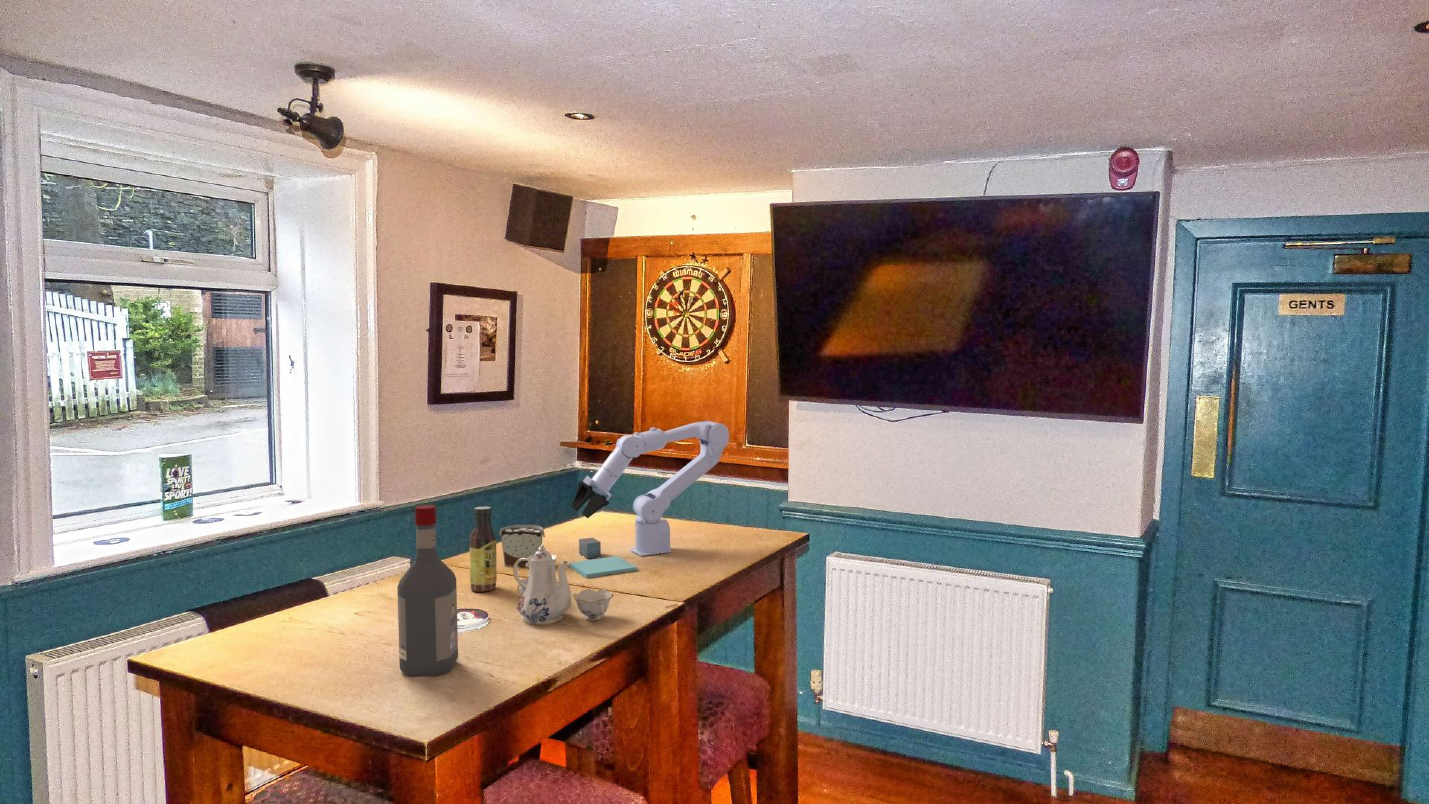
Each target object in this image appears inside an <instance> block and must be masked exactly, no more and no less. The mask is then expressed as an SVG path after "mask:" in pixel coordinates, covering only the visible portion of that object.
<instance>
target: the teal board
mask: <svg viewBox="0 0 1429 804" xmlns="http://www.w3.org/2000/svg"><path fill="white" fill-rule="evenodd" d="M567 565H568V567H569V568H570V569H572V570H573V571H574V572H576V573H578V574H580V575H581V576H582V577H584V578H585V577H586V578H585V579H590V578H589V577H592V578H597V576H598V577H602V576H601V575H605V576H607V575H606V574H612V575H618V574H617V573H619V574H622V573H621V572H626V573H628V572H627V571H633V572H638V567H637V566H636V565H634V564H633V563H631V562H629V561H627V560H626V559H623V558H621V557H619V556H618V555H617V556H616V555H615V556H608V557H601V558H594V559H585V560H580V561H579V560H577V561H572V562H568V563H567Z"/></svg>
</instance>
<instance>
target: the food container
mask: <svg viewBox="0 0 1429 804" xmlns="http://www.w3.org/2000/svg"><path fill="white" fill-rule="evenodd" d="M498 537H499V538H500V539H501V547H502V548H501V549H502V556H503V565H504V567H514V564H515V562H516V561H517V560H518V559H521V558H527V557H529V556H533V555H534V554H535V552H536V551H539V549H538V548H540V546H541V545H543V539H544V538H545V537H546V534H545V530H544V528H543V527H542V526H540V525H535V524H534V525H533V524H516V525H508V526H504V527H502V528H500V531H499V532H498ZM526 563H528V561H520V562H519V563H518V565H517V566H526Z"/></svg>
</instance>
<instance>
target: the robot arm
mask: <svg viewBox="0 0 1429 804" xmlns="http://www.w3.org/2000/svg"><path fill="white" fill-rule="evenodd" d="M690 438H691V439H692V438H695V439H698V441H699V444H700V449H699V451H700V452H699V455H696V457H694V458H693V459H692V460H691V461H690V462H688V463H687V464H686V465H685V466H684V467H682V468H681V469H680V470H678V471H677V472H676V473H674V474H673V475H672V476H671V477H670V478H669V479H667V480H666V481H665V482H664V483H663V484H661V485H660V486H659V487H656V488H654V489H651V490H650V491H648V492H647V493H644V494H641V495H638V496H637V497H636V498H635V499H634V500H633V502H632V503H633V504H632V508H633V511H634V513H635V514H636V516H635V519H634V521H635V522H634V523H635V529H634V532H635V533H634V534H635V536H634V537H635V540H634V541H635V542H634V543H635V546H634V547H632V548H630V549H629V551H631V552H633V553H635V554H636V553H637V555H639V556H641V557H643V556H645V557H646V556H651V555H660V554H659V553H661V554H666V553H671V552H672V550H671V527H670V523H669V521H668V520H667V519H664V518H663V519H662V517H663V515H664V514H665V511H666V510H668V509H669V508H670V504H671V502H672V501H673V500H674V499H675V498H677V497H678V496H679V495H680V494H681V493H683V492H684V491H685V490H686V489H688V488H689V487H690V486H691V485H693V483H695V482H696V481H697V480H699V479H700V478H701V477H702V476H704V475H705V474H706V473H707V472H709V471H710V470H712V468H713V467H715V466H716V465H717V464H718V463H719V461H720V459H721V457H722V455H723V451H724V450H725V447H727V445H728V444H730V432H729V429H728V427H727V425H725V424H723V423H721V422H720V423H719V422H718V423H717V422H714V421H712V420H704V421H697V422H692V423H688V424H685V425H683V426H679V427H676V428H673V429H669V430H666V431H664V430H662V429H661V428H656V427H650V428H649V430H647V431H643V432H638V431H637V432H634V433H633V436H632V435H629V434H625V435H623V436H621V437H620V438H617V440H616V443H615V447H614V449H613V450H612V452H610V454H609V456H608V457H607V459H606V460H605V461H603V463H602V465H601V466H600V468H599V469H598V470H597V471H596V473H595V474H594V475H593V476H592V478H591V476H590V477H589V476H588V475H586V477H585V478H584V480H583V481H581V480H579V481H578V483H577V489H576V493H575V496H574V499H573V500H572V503H571V505H570V507H571V508H572V509H573V510H575V511H576V512H578V511H579V510H580V509H582V507H584V505H585V504H586V503H587V502H588V503H587V504H586V506H585V507H584V509H583V511H582V512H581V515H582V516H583V517H585V518H586V519H589V518H590V517H593V515H594V514H595V513H597V512H598V511H599V510H601V509H602V508H604V507H607V506H608V505H609V504H610V502H609V500H610V498H611V497H612V494H611V492H609V491H610V490H611V488H612V487H613V485H614V484H615V483H616V482H617V480H618V479H619V478H620V477H621V475H622V474H623V473H624V471H625V470H626V468H627V467H628V466H629V464H630V463H631V461H632V460H633V458H638V457H640V456H641V454H646V453H650V452H654V451H658V450H661V449H662V450H663V449H664V448H665V446H666V445H667V443H672V442H676V441H681V440H682V441H683V440H687V439H690Z"/></svg>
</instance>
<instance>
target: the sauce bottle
mask: <svg viewBox="0 0 1429 804" xmlns="http://www.w3.org/2000/svg"><path fill="white" fill-rule="evenodd" d="M473 513H474V528H473V530H472V531H471V533H470V537H469V542H470V543H469V583H470V589H471V591H473V592H477V593H478V592H479V593H483V592H491V591H493V590H495V589H496V586H497V581H498V580H497V579H498V575H497V569H498V568H497V567H498V566H497V539H496V534H495V532H494V529H493V527H492V507H491V506H477V507H474V509H473Z"/></svg>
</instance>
